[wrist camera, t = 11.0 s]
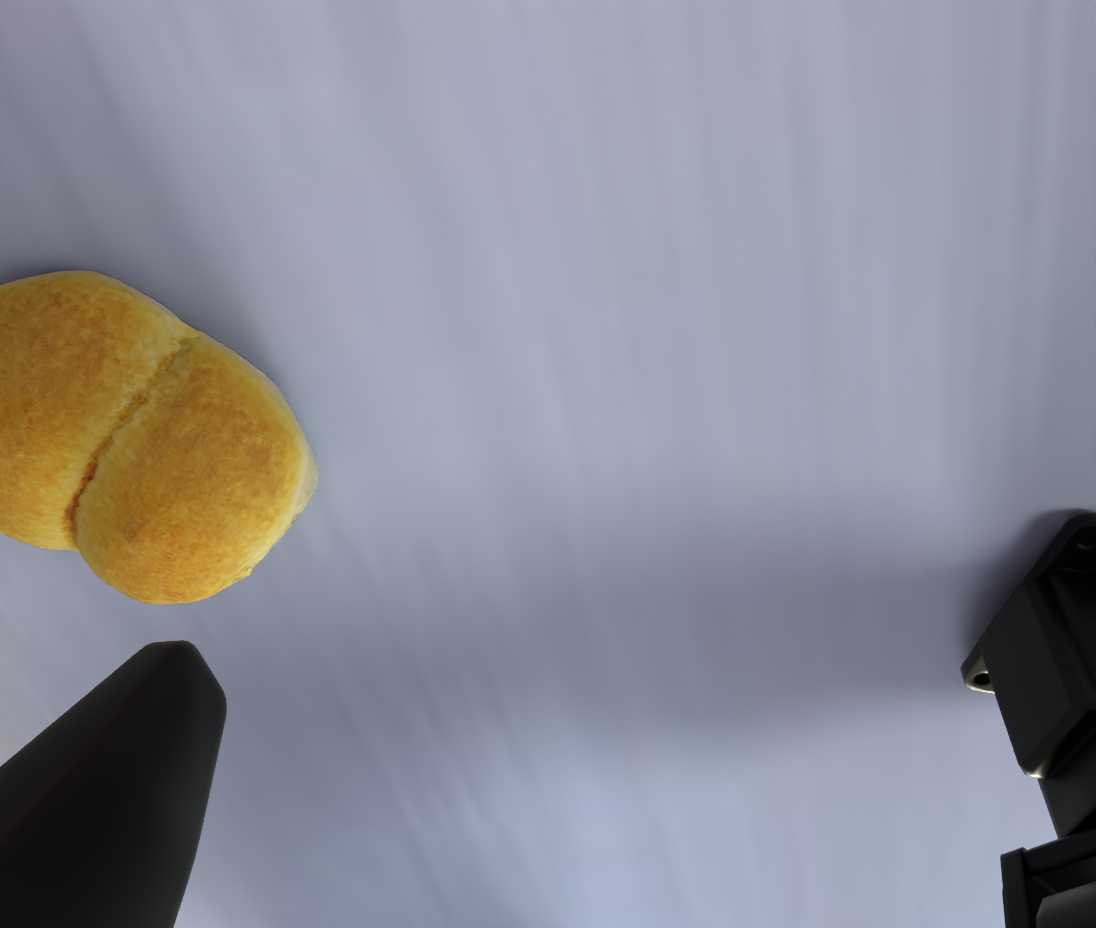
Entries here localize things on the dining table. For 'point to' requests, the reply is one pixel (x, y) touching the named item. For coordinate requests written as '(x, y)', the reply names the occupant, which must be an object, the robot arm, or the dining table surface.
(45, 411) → the bread roll
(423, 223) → the dining table surface
